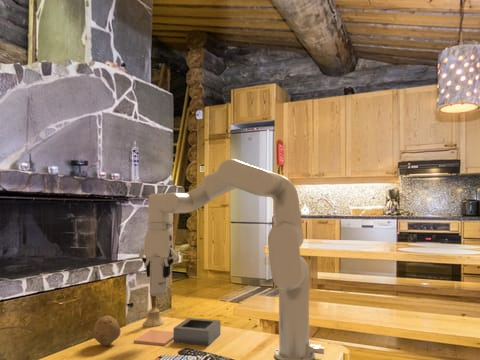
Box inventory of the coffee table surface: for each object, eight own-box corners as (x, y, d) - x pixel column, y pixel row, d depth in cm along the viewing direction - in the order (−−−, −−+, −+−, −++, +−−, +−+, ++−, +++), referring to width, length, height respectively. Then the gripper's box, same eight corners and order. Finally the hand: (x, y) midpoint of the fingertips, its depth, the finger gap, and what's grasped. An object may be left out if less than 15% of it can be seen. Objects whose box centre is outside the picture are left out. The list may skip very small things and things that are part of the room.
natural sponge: (85, 347, 131) (86, 317, 131) (105, 339, 139) (105, 311, 139) (105, 351, 127) (106, 320, 128) (124, 343, 135) (125, 314, 136)
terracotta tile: (179, 334, 144) (179, 332, 144) (165, 345, 132) (165, 343, 132) (150, 332, 147) (150, 329, 147) (133, 342, 135) (133, 340, 136)
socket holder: (220, 334, 144) (220, 320, 145) (208, 346, 132) (208, 331, 132) (188, 331, 148) (188, 317, 148) (173, 342, 135) (173, 328, 136)
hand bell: (159, 327, 153) (159, 286, 154) (139, 326, 154) (140, 285, 156) (167, 321, 161) (167, 282, 162) (148, 320, 163) (149, 281, 164)
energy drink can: (162, 296, 137) (162, 253, 138) (146, 295, 139) (147, 253, 140) (169, 293, 143) (169, 252, 144) (154, 292, 144) (154, 251, 146)
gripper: (184, 226, 144) (184, 275, 143) (142, 226, 148) (142, 274, 147) (175, 227, 137) (175, 279, 135) (132, 227, 141) (131, 277, 140)
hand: (158, 276), depth 141 cm, fingers closed on energy drink can, 6 cm apart
